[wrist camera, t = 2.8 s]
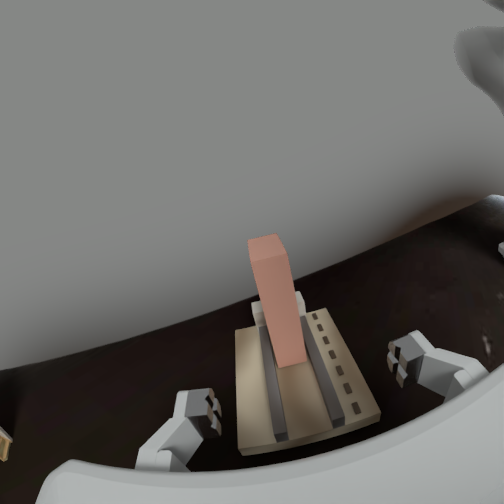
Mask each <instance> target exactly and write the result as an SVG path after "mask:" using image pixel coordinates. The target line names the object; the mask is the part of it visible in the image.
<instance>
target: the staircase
mask: <svg viewBox="0 0 504 504" xmlns="http://www.w3.org/2000/svg"><path fill="white" fill-rule="evenodd" d="M12 441H13V439H12V438H11V437H10V436H9V435H8V434H7V433H6V432H5V431H4V430H3V429H2V427H1V426H0V459H1V460H2V461H5V460H7V459H8V455H9V449H10V445H11V443H13V442H12Z"/></svg>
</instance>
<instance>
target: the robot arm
mask: <svg viewBox="0 0 504 504" xmlns="http://www.w3.org/2000/svg"><path fill="white" fill-rule="evenodd" d="M483 1H485V2H486V3H488V4H489V5H491V6H493V7H494V8H496V9H498V10H500V11H502V12H504V0H483ZM454 53H455V57H456V61H457V63H458V65H459V67H460V69H461V71H462V72H463V73H464V75H465V76H466V77H467V79H468V80H469V81H470V82H471V83H473V84H474V85H475V86H476V87H478V88H479V89H481V90H482V91H483V92H485V93H486V94H487V95H488V96H489V97H490V98H491V99H492V100H493V101H494V102H495V104H496V105H497V106H498V108H499V109H500V110H501V112H502V114H503V116H504V27H475V28H471V29H467V30H464V31H461V32H458V33H457V35H456V38H455V41H454ZM498 251H499V252H500V253H501V254H502V255H503V256H504V242H503V243H500V244H499V247H498ZM388 348H389V350H390V352H389V354H388V355H387V362H388V366H389V369H390V370H391V372H392V373H393V374H396V375H397V377H396V380H397V381H398V383H399V384H400V386H401V388H405V387H407V386H409V385H412V384H414V383H416V382H417V383H419V384H421V385H423V386H425V387H427V388H429V389H431V390H433V391H435V392H437V393H438V394H440V395H442V396H444V397H446V398H445V400H444V402H443V404H442V405H440V406H439V407H437V408H435V409H433V410H431V411H429V412H428V413H426V414H424V415H422V416H420V417H418V418H416V419H414V420H412V421H410V422H407V423H405V424H403V425H401V426H399V427H396V428H394V429H392V430H389V431H387V432H385V433H382V434H380V435H377V436H375V437H372V438H369V439H367V440H364V441H361V442H358V443H356V444H353V445H350V446H347V447H343V448H340V449H337V450H334V451H330V452H327V453H323V454H319V455H316V456H312V457H308V458H303V459H299V460H294V461H290V462H285V463H279V464H274V465H268V466H261V467H254V468H246V469H237V470H226V471H210V472H191V471H190V470H189V469H188V468H187V467H186V466H185V465H186V464H187V463H188V461H189V460H190V458H191V457H192V455H193V454H194V452H195V451H196V450H197V448H198V447H199V445H200V444H201V442H202V441H203V439H205V438H214V437H221V424H220V422H219V420H220V419H221V407H220V404H219V402H218V400H217V399H216V398H214V392H213V390H212V388H207V389H197V390H189V391H179V392H178V394H177V398H176V404H175V409H174V414H173V418H170V419H169V420H168V421H167V422H166V423H165V424H164V425H163V426H162V427H161V428H160V429H159V430H158V431H157V432H156V433H155V434H154V435H153V436H152V437H151V438H150V439H149V440H148V441H147V442H146V443H145V444H144V445H143V446H142V447H141V448H140V449H139V453H138V457H137V462H136V466H135V470H134V469H125V468H118V467H111V466H105V465H99V464H94V463H89V462H84V461H80V460H74V459H72V460H69V461H67V462H65V463H64V464H62V465H61V466H59V467H58V468H56V469H55V470H54V471H52V472H51V473H50V474H49V475H48V476H47V478H46V480H45V481H44V483H43V486H42V488H41V490H40V493H39V495H38V498H37V500H36V503H35V504H504V363H503V364H501V365H500V366H499V367H498V368H496V369H495V370H494V371H492V372H491V373H489V372H488V371H487V370H486V369H485V368H484V367H483V366H482V365H481V364H480V362H479V361H478V360H477V359H474V358H470V357H467V356H463V355H460V354H456V353H453V352H450V351H446V350H443V349H440V348H437V349H435V348H434V347H433V346H432V345H431V344H430V343H429V341H428V340H427V339H426V338H425V337H424V336H423V335H422V334H421V333H420V332H419V331H418V330H416V331H414V332H411V333H409V334H407V335H404V336H402V337H399V338H397V339H395V340H392V341H390V342H389V345H388Z"/></svg>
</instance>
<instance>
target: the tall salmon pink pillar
mask: <svg viewBox="0 0 504 504" xmlns="http://www.w3.org/2000/svg"><path fill="white" fill-rule="evenodd" d="M247 241H248V248H249V255H250V262H251V266H252V269H253V273H254V277H255V280H256V285H257V289H258V292H259V296H260V300H261V304H262V308H263V311H264V315H265V319H266V323H267V327H268V330H269V334H270V338H271V342H272V346H273V349H274V353H275V357H276V361H277V364H278V368H282V367H286V366H290V365H294V364H298V363H302V362H305V361H307V356H306V351H305V345H304V339H303V333H302V328H301V322H300V316H299V311H298V306H297V300H296V295H295V290H294V285H293V280H292V275H291V269H290V264H289V259H288V255H287V252H286V250H285V248H284V246H283V244H282V243H281V240H280V239H279V237H278V235H277V233H274V234H271V235H266V236H262V237H258V238H254V239H250V240H247Z"/></svg>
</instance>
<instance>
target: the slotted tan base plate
mask: <svg viewBox="0 0 504 504" xmlns="http://www.w3.org/2000/svg"><path fill="white" fill-rule="evenodd" d="M295 295H296V300H297V306H298V311H299V316H300V322H301V328H302V333H303V339H304V345H305V351H306V356H307V361H305V362H302V363H298V364H294V365H290V366H286V367H282V368H278V364H277V361H276V357H275V353H274V349H273V346H272V342H271V338H270V334H269V330H268V327H267V323H266V319H265V315H264V311H263V308H262V304H261V301H257V302H253V303H252V311H253V316H254V320H255V323H256V326H253V327H249V328H244V329H239V330H235V347H236V397H237V431H238V449H239V451H240V452H241V454H242V455H243V456H246V455H253V454H260V453H266V452H272V451H277V450H282V449H287V448H292V447H297V446H301V445H305V444H309V443H313V442H317V441H321V440H324V439H328V438H331V437H335V436H338V435H341V434H344V433H347V432H350V431H353V430H356V429H359V428H362V427H365V426H368V425H370V424H373V423H375V422H378V421H379V420H380V415H381V411H380V409H379V407H378V405H377V403H376V401H375V399H374V397H373V395H372V393H371V391H370V389H369V388H368V386H367V384H366V382H365V380H364V378H363V376H362V374H361V372H360V370H359V368H358V366H357V365H356V363H355V361H354V359H353V357H352V355H351V353H350V351H349V350H348V348H347V346H346V344H345V342H344V340H343V338H342V337H341V335H340V333H339V331H338V329H337V328H336V326H335V324H334V322H333V320H332V318H331V317H330V315H329V313H328V311H327V310H326V308H324V309H320V310H317V311H313V312H309V313H306V310H305V304H304V300H303V298H302V296H301V293H300V291H297V292H295Z"/></svg>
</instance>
